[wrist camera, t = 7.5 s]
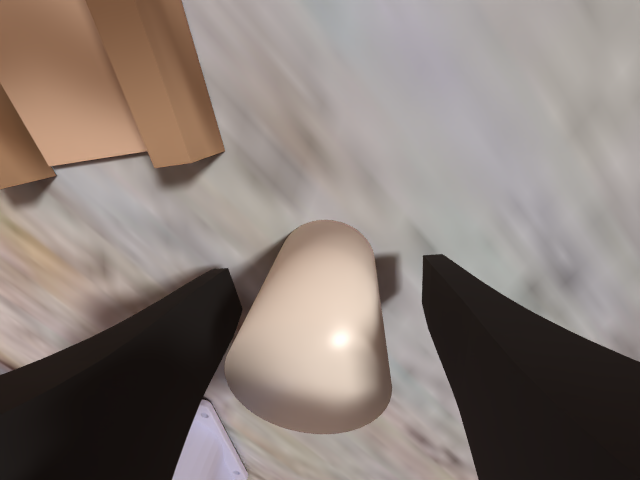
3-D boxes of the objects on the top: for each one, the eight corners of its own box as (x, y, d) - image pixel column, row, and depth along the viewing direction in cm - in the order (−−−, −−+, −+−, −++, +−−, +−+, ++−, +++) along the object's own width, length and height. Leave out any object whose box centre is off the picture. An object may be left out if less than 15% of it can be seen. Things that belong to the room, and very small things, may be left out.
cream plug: (377, 299, 12) (394, 437, 7) (290, 302, 12) (248, 430, 8) (372, 215, 10) (388, 320, 5) (270, 224, 11) (200, 325, 6)
